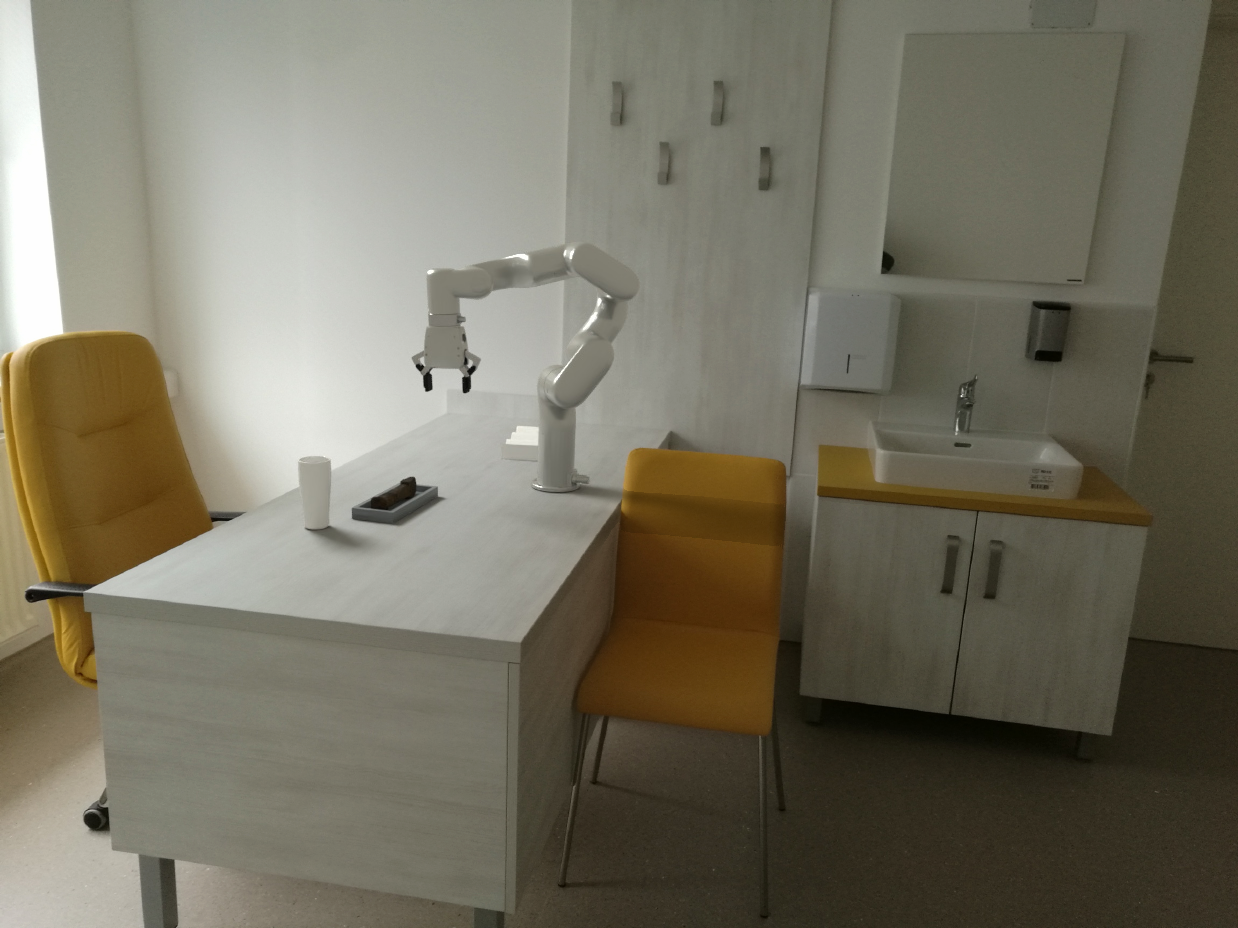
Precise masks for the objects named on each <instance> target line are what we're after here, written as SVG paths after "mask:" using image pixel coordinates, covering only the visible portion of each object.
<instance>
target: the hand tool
mask: <svg viewBox="0 0 1238 928" xmlns="http://www.w3.org/2000/svg"><path fill="white" fill-rule="evenodd" d="M416 480H417V479H416V477H415V476H408V477H407V478H403V479H401V480H400V482H399V483H400V485H399V486H397V487H395V488H393V489H391V490H389V491H388V492H385V493H384V494H382V495H379V496H378V497H373V496H371V498H372V499H371V503H370V505H371V509H378V510H388V508H389V507H391V506H393V505H394V504H396V503H399V502H400V501H401V500H403V499H410V498H412V497H413V496H414V495H415V493H416V484H417V481H416Z"/></svg>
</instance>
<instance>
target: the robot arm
mask: <svg viewBox="0 0 1238 928" xmlns="http://www.w3.org/2000/svg"><path fill="white" fill-rule="evenodd" d="M425 275H426V298H427V315H428V316H427V317H428V318H427V319H428V320H427V321H428V322H427V323H428V326H426V328H425V331H424V333H425V334H424V343H423V350H422V351H419V352H418V353H416V354H414V355H413V356H411V360H412V362H413V365H415V368H416V370H417V371H418V372H420V375H421V376H422V383H423V389H424V391H425V392H426V393H428V392H431V391H433V375H432V373H431V371H432V370H433V369H442V370H443V369H444V370H445V369H446V370H459V371H460V372H461V374H462V375H463V376H462V377H461V385H462V387H461V388H462V393H463V394H467V393H470V392H471V389H472V375H473V374H474V373H475V371H477V370H478V367H479V366H480V363H481V361H482V358H481V357H480V356H477V355H475V354H473V353H472V352H470V351H469V346H468V339H467V334H466V329H465V326H463V325H462V323H466V321H467V318H466V316H463V315H462V313H461V305H460V304H461V301H460V299H466V300H467V299H468V300H473V301H474V300H475V301H476V300H483V299H486V298H487V297H488V296H490V294H491V293H492V292H495V291H500V290H506V289H507V290H508V289H514V288H515V289H531V288H537V287H540V286H541V287H542V286H545V285H549V284H554V283H556V282H562V281H566V280H569V279H574V278H580V279H582V280H583V281H584V282H587V283H588V284H590V285H591V286H592V287H594V289H595V293H596V303H595V307H594V310H593V311H592V313H591V314H590V316H589V317H588V318H587V320H586V321H585V323H584V324H583V325H582V326H581V327H580V329H578V331H577V332H576V333H575V335H574V336H573V337H572V338H571V339H570V341H569V343H568V344H567V345H566V346H567V347H566V351H565V352H566V358H567V360H568V362H567V364H566V365H565V366H564V365H562V364H552V365H549V366H547V367H545V368H544V369H543V370H542V371H541V373H540V374H539V377H538V378H537V385H536V387H537V388H536V390H537V392H536V393H537V401H538V403H537V404H538V427H539V432H538V461H537V477H535V478H533V479H531V482H530V485H531V487H532V489H533V488H534V489H535V490H538V491H541V492H549V493H567V492H572V491H577V490H578V489H579V488H580V485H581V484H585V485H589V484H590V479H591V478H590V476H588V475H587V474H580V473H578V468H575V461H576V460H575V459H576V458H575V455H576V429H577V414H576V411H577V410H576V409H577V408H578V407H579V406H581V405H582V404H583V403H585V401H586V400H587V399H588V398H589V397H590V396H591V394H592V393H593V392H594V391H595V389H596V388H597V387H598V385H599V384H600V383H601V381H602V380H603V379H604V378H605V376H606V375H607V374H608V373H609V371H610V370H611V368H612V366H613V363H614V359H615V350H614V347H613V345H612V344H613V342H614V341H615V339H616V338H617V337H618V336H619V334H620V332H621V331H622V329H623V328H624V326H625V323H626V321H627V319H628V311H629V301H631V300H633V299H634V298H635V297H636V296H637V295H638V293H639V291H640V283H641V282H640V277H639V276H638V274H637V273H636V272H635V271H634V269H632V268H631V267H629V266H627V264H625V263H623V262H621V261H619V260H618V259H616V258H615V257H613V256H612V255H610V254H608V253H607V252H605V251H604V250H602V249H601V248H600V247H597V246H596V245H594V244H592V243H591V242H586V241H583V242H582V241H571V242H567V243H562V244H558V245H554V246H549V247H545V248H540V249H536V250H531V251H526V252H522V253H518V254H514V255H510V256H506V257H501V258H496V259H493V260H492V259H491V260H486V261H483V262H477V263H475V264H470V265H465V266H463V267H461V268H460V269H454V268H447V267H446V268H445V267H442V268H441V267H439V268H431V269H429V270H427V272H426V274H425ZM461 325H462V326H461ZM422 358H423V361H424V364H423V363H422V362H421V359H422ZM470 361H471V362H472V365H471V366H470V367H469V364H470Z"/></svg>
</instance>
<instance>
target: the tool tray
mask: <svg viewBox="0 0 1238 928" xmlns="http://www.w3.org/2000/svg"><path fill="white" fill-rule="evenodd" d="M399 485H400V482H399V483H397V484H394V485H393V486H391V487H389V488H387V489H385V490H383V491H381V492H379V493H378V494H376V495H373V496H372V497H378V496H379V495H382V494H384V493H385V492H388V491H389V490H391V489H393V488H395V487H397V486H399ZM372 497H370V498H367V499H365V500H364V501H362V502H359V504H357V505H354V506H352V507H351V519H352V518H353V520H361V521H369V522H377V523H387V524H394V523H397V521H399V520H401V519H403V518H405V517H406V516H408V515H409V514H411V513H413V512H415V511H416V510H418V509H419V508H421V507H423V506H424V505H426V504H428V503H429V502H431V501H432V500H433V501H434V499H437V497H439V486H437V485H436V486H435V485H428V484H418V483H416V493H415V495H414V496H413V497H412V498H410V499H403V500H401V501H400V502H399V503H396V504H394V505H393V506H391V507H389V508H388V510H378V509H371V505H370V503H371V499H372Z"/></svg>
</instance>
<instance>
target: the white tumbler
mask: <svg viewBox="0 0 1238 928" xmlns="http://www.w3.org/2000/svg"><path fill="white" fill-rule="evenodd" d="M297 477H298V485H299V494H300V500H301V501H300V502H301V510H302V516H303V517H302V518H303V520H302V521H303V522H302V523H303V526H304V528H305V529H308V530H314V531H315V530H324V529H326V528H328V527H329V526H330V510H331V509H330V508H331V505H330V504H331V492H332V491H331V490H332V461H331V458H330V457H328V456H322V455H311V456H304V457H300V458H298V460H297Z"/></svg>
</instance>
